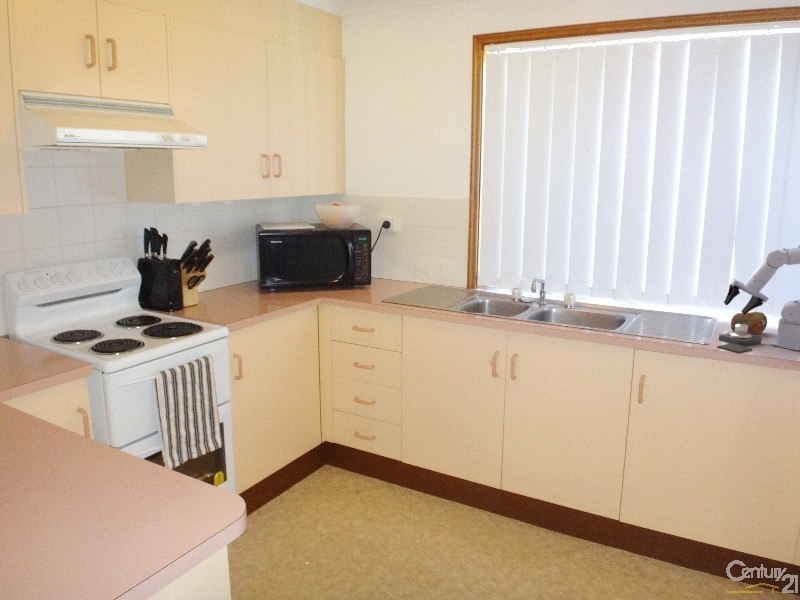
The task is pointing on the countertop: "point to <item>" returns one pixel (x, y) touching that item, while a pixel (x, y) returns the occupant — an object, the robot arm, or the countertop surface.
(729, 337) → the frame
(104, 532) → the countertop surface
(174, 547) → the countertop surface
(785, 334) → the robot arm
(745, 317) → the orange patterned rounded block
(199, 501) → the countertop surface
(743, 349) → the mat
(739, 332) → the door knob
